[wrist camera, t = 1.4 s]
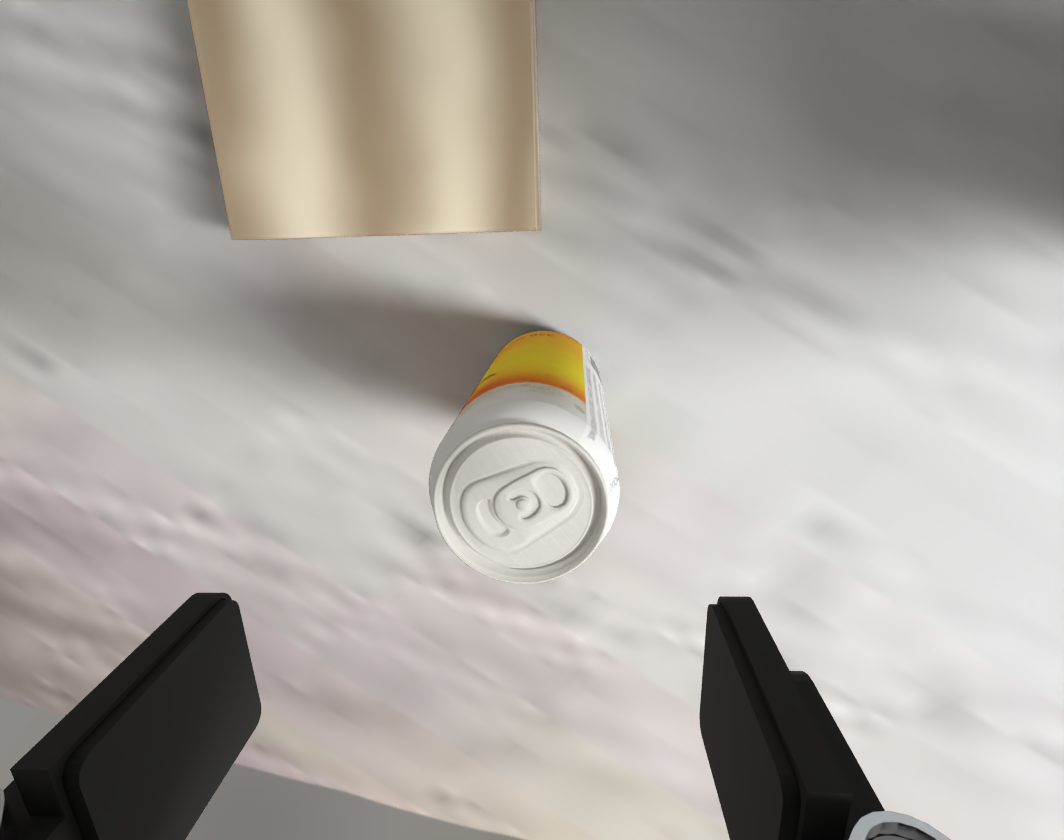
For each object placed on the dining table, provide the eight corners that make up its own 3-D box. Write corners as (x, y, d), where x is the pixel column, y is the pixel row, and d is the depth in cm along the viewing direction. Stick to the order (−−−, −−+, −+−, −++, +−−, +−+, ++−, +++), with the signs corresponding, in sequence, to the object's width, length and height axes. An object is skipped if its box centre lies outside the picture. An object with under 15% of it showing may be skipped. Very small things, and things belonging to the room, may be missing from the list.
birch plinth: (532, -113, 24) (524, -178, 20) (541, 230, 29) (535, 229, 25) (222, -88, 25) (159, -145, 22) (275, 239, 30) (231, 239, 26)
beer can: (469, 362, 31) (380, 470, 17) (566, 307, 30) (559, 373, 15) (524, 452, 32) (485, 622, 18) (619, 404, 31) (658, 546, 17)
